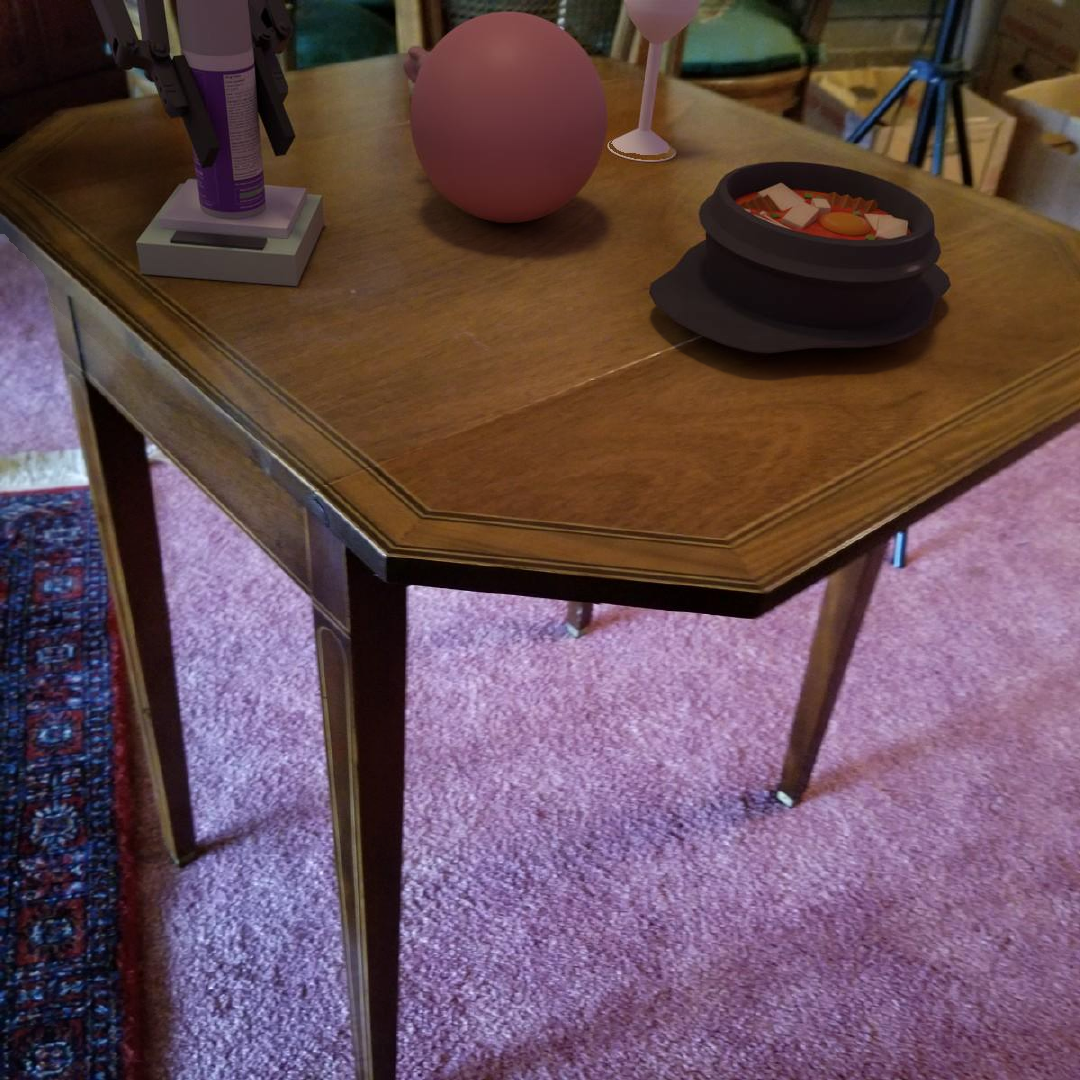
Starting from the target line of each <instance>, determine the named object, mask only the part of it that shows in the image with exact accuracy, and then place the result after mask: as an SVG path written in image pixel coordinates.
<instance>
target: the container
mask: <svg viewBox="0 0 1080 1080" xmlns="http://www.w3.org/2000/svg"><path fill="white" fill-rule="evenodd" d="M175 1H176V2H175V3H176V13H177V23H178V34H179V43H180V53H181V54H180V55H185V58H186V60H187V63H188V65H189V68H190V70H191V73H192V75H193V78H194V81H195V83H196V86H197V88H198V91H199V93H200V96H201V99H202V101H203V104H204V106H205V109H206V111H207V114H208V116H209V119H210V122H211V124H212V127H213V129H214V132H215V134H216V137H217V139H218V142H219V145H220V147H221V148H220V150H219V152H218V155H217V157H216V159H215V162H214V164H213V166H212V167H207V168H201V165H200V163H199V160H198V157H197V155H196V152H195V150H194V147H193V145H192V144H191V145H192V152H193V153H192V154H193V161H194V170H195V177H196V179H197V186H198V194H199V201H200V208H201V210H202V211H203V212H204V213H206V214H207V215H210V216H213V217H216V218H222V219H243V218H249V217H253V216H255V215H258V214H260V213H261V212H263V211H264V210H265V208H266V199H265V187H264V185H265V177H264V176H265V175H264V164H263V151H262V139H261V125H260V115H259V113H258V101H257V89H256V77H255V65H254V55H253V46H252V37H251V28H250V18H249V9H248V0H175Z"/></svg>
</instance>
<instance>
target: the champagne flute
mask: <svg viewBox="0 0 1080 1080" xmlns="http://www.w3.org/2000/svg"><path fill="white" fill-rule="evenodd" d="M623 3H624V7H625V10H626V13H627V16H628V17H629V19H630V21H631V22H632V24H633V25H634V26H635V28H636V29H637V31H638V32H639V33H640V35H641V36H642V37H643V38H644V39H645V40H647V41H648V42H649V43H648V50H647V59H646V66H645V72H644V73H645V76H644V83H643V89H642V96H641V97H642V98H641V104H640V111H639V112H640V113H639V119H638V127H637V128H635V129H633V130H631V131H629V132H627V133H625V134H623V135H620V136H619V137H616V138H614V139H612V140H613V141H612V140H610V141H609V142H608V143H607V149H608V151H610V152H611V153H612V154H614V155H615V156H619V157H621V158H624V159H627V160H631V161H637V162H649V163H657V162H664V161H668V160H671V159H673V158H674V157H676V155H677V152H676V149H675V148H674V147H673V149H674V151H675V153H674V155H672V156H671V157H669V158H666V159H660V160H641V159H634V158H630V157H626V156H623V155H620V154H618V153H616V152H614V151H613V150H612V149H610V147H609V143H610V142H611V141H612V143H611V144H613V146H614V147H615V148H616V149H617V150H619V151H621V152H624V153H636V154H640V155H659V154H662V153H668V151H669V149H670V147H669V145H670V144H669V143H668V142H667V141H666V140H664V139H663V138H661V136H659V135H658V134H657V133H655V132H654V131H653V130H652V123H653V114H654V108H655V107H654V106H655V99H656V94H657V93H656V92H657V86H658V79H659V71H660V64H661V56H662V49H663V44H664V43H666V42H669V41H670V40H672V38H675V37H676V36H677V35H678V34H679V33H680V32H682V31H683V30H684V29H685V28H686V27H688V25H689V24H690V23H691V22H692V20H693V19H694V17H695V16H696V15H697V13H698V11H699V9H700V0H623ZM668 144H669V145H668Z"/></svg>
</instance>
